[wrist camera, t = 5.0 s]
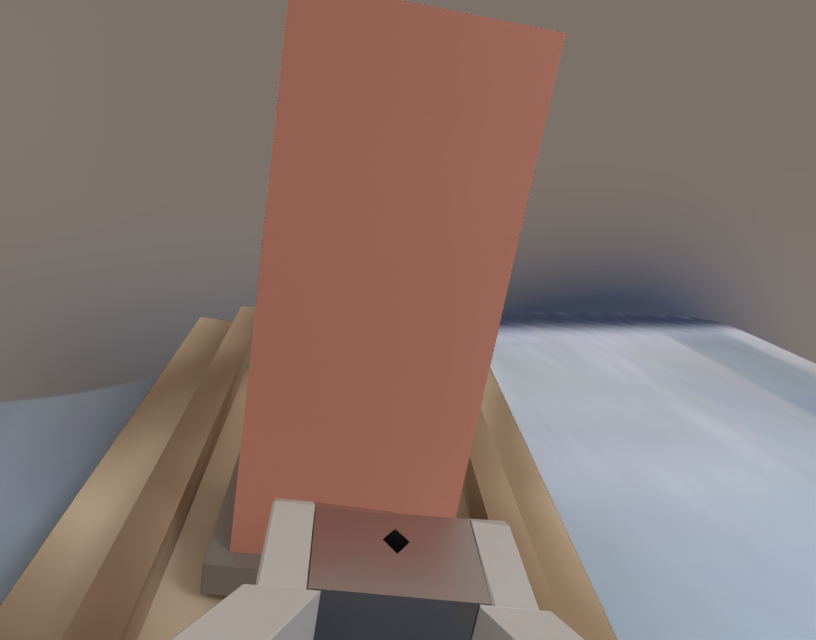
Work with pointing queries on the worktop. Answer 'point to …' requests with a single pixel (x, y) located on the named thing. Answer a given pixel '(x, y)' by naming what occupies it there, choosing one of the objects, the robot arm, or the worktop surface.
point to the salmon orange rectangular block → (381, 260)
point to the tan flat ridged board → (203, 497)
